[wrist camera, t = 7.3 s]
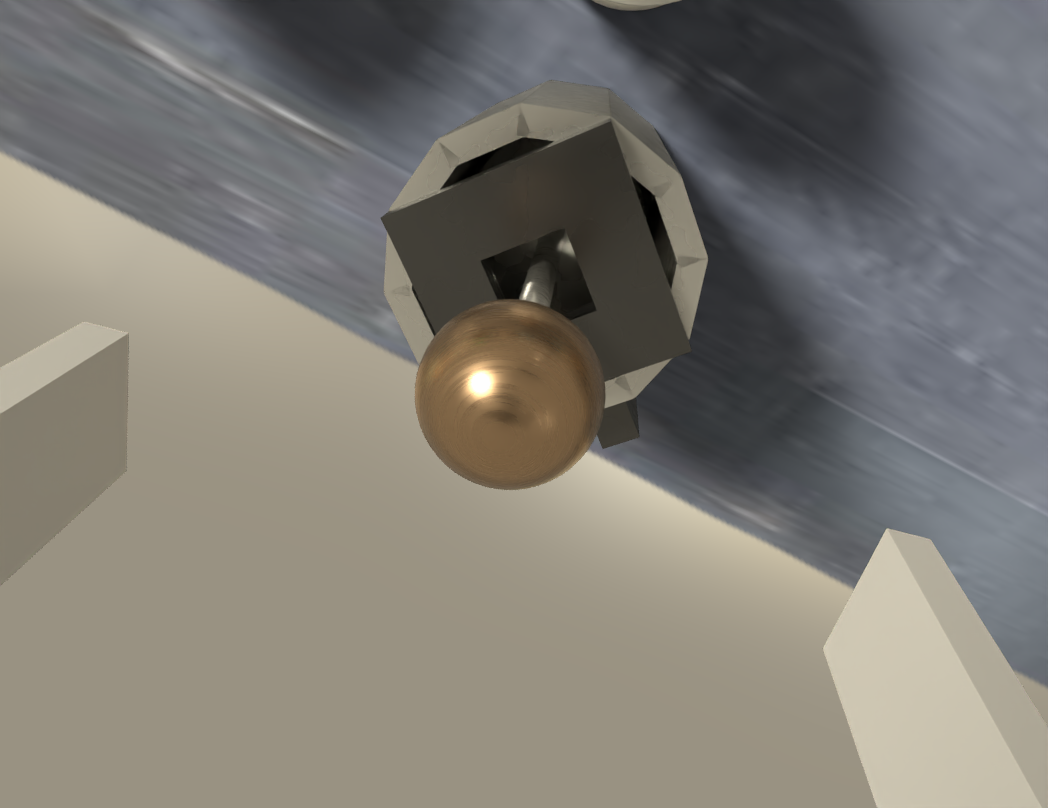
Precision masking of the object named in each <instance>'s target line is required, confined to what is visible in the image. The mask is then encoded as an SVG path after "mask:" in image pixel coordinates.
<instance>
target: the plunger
mask: <svg viewBox="0 0 1048 808" xmlns="http://www.w3.org/2000/svg"><path fill="white" fill-rule="evenodd" d="M552 142H554V141H549V140H542V139H536V138H529V137H522V138H520V139H518V140H515V141H513V142H511V143H508V144H507V145H506V146H504V147H503V148H501V149H500V150H499V151H498V152H497V153H496V154H494V155H493V156H492V157H491V158H490V159H489V160H488V162H487V163H486V164H485V165H484V166H483V168H482V169H481V170H480V172H483V171H485V170H488V169H490V168H492V167H495V166H497V165H499V164H502V163H504V162H507V161H509V160H511V159H514V158H516V157H518V156H521V155H523V154H525V153H528V152H530V151H533V150H535V149H537V148H540V147H542V146H544V145H547V144H549V143H552ZM480 172H479V173H480ZM631 177H632V176H631ZM632 180H633V183H634V185H635V188H636V191H637V194H638V197H639V200H640V203H641V205H642V208H643V211H644V214H645V217H646V210H645V204H644V200H643V196H642V193H641V189H640V187H639V185H638V182H637V180H636V179H635V178H633V177H632ZM488 260H489V262H490V264H491V267H492V269H493V271H494V274H495V276H496V278H497V281H498V283H499V285H500V287H501V290H502V292H503V294H504V297H505V299H500V300H494V301H488V302H485V303H482V304H478V305H476V306H474V307H471V308H469V309H467V310H465V311H463V312H462V313H460V314H458V315H457V316H455V317H454V318H452V319H451V320H450V321H449V322H448V323H446V324H445V325H444V326H443V327H442V328H441V330H440V331H439V332H438V333H437V334H436V335H435V336H434V338H433V339H432V341H431V342H430V344H429V345H428V347H427V349H426V351H425V353H424V355H423V357H422V359H421V362H420V365H419V369H418V372H417V377H416V383H415V405H416V413H417V416H418V420H419V423H420V427H421V429H422V432H423V434H424V436H425V438H426V440H427V442H428V443H429V445H430V447H431V448H432V450H433V451H434V452H435V453H436V455H437V456H438V457H439V458H440V459H441V460H442V461H443V462H444V464H445V465H447V466H448V467H449V468H451V470H453V471H454V472H455V473H457V474H458V475H460V476H462V477H463V478H465V479H467V480H469V481H471V482H473V483H476V484H479V485H482V486H485V487H489V488H494V489H504V490H518V489H526V488H531V487H535V486H539V485H541V484H544V483H546V482H549V481H551V480H553V479H555V478H557V477H559V476H561V475H562V474H564V473H565V472H566V471H568V470H569V469H570V468H571V467H572V466H574V465H575V464H576V463H577V462H578V461H579V460H580V459H581V458H582V456H583V455H584V454H585V453H586V452H587V450H588V449H589V447H590V446H591V444H592V442H593V441H594V439H595V437H596V435H597V433H598V430H599V428H600V426H601V422H602V418H603V414H604V408H605V399H606V393H605V382H604V376H603V370H602V367H601V364H600V361H599V358H598V356H597V354H596V352H595V350H594V348H593V346H592V345H591V343H590V342H589V340H588V339H587V337H586V336H585V335H584V334H583V332H582V331H581V330H580V329H579V328H578V327H577V326H576V325H575V324H574V323H573V322H572V321H570V320H569V319H568V318H567V317H565V316H564V315H562V314H561V313H564V312H566V311H569V310H572V309H575V308H577V307H580V306H583V305H585V304H588V303H591V302H593V299H592V297H591V294H590V292H589V289H588V287H587V284H586V281H585V279H584V276H583V274H582V271H581V269H580V266H579V264H578V261H577V258H576V256H575V253H574V251H573V248H572V246H571V243H570V241H569V238H568V235H567V233H566V230H565V228H562V229H560V230H557V231H555V232H552V233H549V234H547V235H544V236H542V237H539V238H537V239H534V240H532V241H529V242H527V243H524V244H521V245H519V246H516V247H514V248H511V249H509V250H506V251H504V252H501V253H499V254H496V255H494V256H491V257H488Z"/></svg>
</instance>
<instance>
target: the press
mask: <svg viewBox="0 0 1048 808" xmlns="http://www.w3.org/2000/svg"><path fill="white" fill-rule="evenodd" d="M522 137H529V138H536V139H542V140H549V141H554V142H552V143H549V144H547V145H544V146H542V147H540V148H537V149H535V150H533V151H530V152H528V153H525V154H523V155H521V156H518V157H516V158H514V159H511V160H509V161H507V162H504V163H502V164H499V165H497V166H495V167H492V168H490V169H488V170H485V171H483V172H480V170H481V169H482V168H483V166H484V165H485V164H486V163H487V162H488V160H489V159H490V158H491V157H492V156H493V155H494V154H496V153H497V152H498V151H499V150H500V149H501V148H503V147H504V146H506V145H507V144H508V143H511V142H513V141H515V140H518V139H520V138H522ZM479 172H480V173H479ZM631 176H632V177H633V178H635V179H636V180H637V182H638V185H639V187H640V189H641V193H642V196H643V200H644V204H645V210H646V217H645V214H644V211H643V208H642V205H641V203H640V200H639V197H638V194H637V191H636V188H635V185H634V183H633V180H632V177H631ZM381 220H382V222H383V224H384V226H385V228H386V230H387V246H386V263H385V281H384V292H385V293H384V294H385V296H386V298H387V300H388V302H389V304H390V306H391V308H392V311H393V313H394V315H395V317H396V319H397V321H398V323H399V325H400V327H401V329H402V331H403V333H404V335H405V337H406V339H407V341H408V343H409V345H410V347H411V349H412V351H413V353H414V355H415V357H416V359H417V361H418V363H419V364H420V362H421V359H422V357H423V355H424V353H425V351H426V349H427V347H428V345H429V344H430V342H431V341H432V339H433V338H434V336H435V335H436V334H437V333H438V332H439V331H440V330H441V328H442V327H443V326H444V325H445V324H446V323H448V322H449V321H450V320H451V319H452V318H454V317H455V316H457V315H458V314H460V313H462V312H463V311H465V310H467V309H469V308H471V307H474V306H476V305H478V304H482V303H485V302H488V301H494V300H500V299H505V297H504V294H503V292H502V290H501V287H500V285H499V283H498V281H497V278H496V276H495V274H494V271H493V269H492V267H491V264H490V262H489V260H488V257H491V256H494V255H496V254H499V253H501V252H504V251H506V250H509V249H511V248H514V247H516V246H519V245H521V244H524V243H527V242H529V241H532V240H534V239H537V238H539V237H542V236H544V235H547V234H549V233H552V232H555V231H557V230H560V229H562V228H565V230H566V233H567V235H568V238H569V241H570V243H571V246H572V248H573V251H574V253H575V256H576V258H577V261H578V264H579V266H580V269H581V271H582V274H583V276H584V279H585V281H586V284H587V287H588V289H589V292H590V294H591V297H592V299H593V302H591V303H588V304H585V305H583V306H580V307H577V308H575V309H572V310H569V311H566V312H564V313H561V314H562V315H564V316H565V317H567V318H568V319H569V320H570V321H572V322H573V323H574V324H575V325H576V326H577V327H578V328H579V329H580V330H581V331H582V332H583V334H584V335H585V336H586V337H587V339H588V340H589V342H590V343H591V345H592V346H593V348H594V350H595V352H596V354H597V356H598V358H599V361H600V364H601V367H602V370H603V376H604V382H605V393H606V399H605V408H604V414H603V418H602V422H601V426H600V428H599V430H598V433H597V436H598V438H599V441H600V443H601V446H602V448H603V449H604V448H607V447H610V446H613V445H617V444H620V443H623V442H626V441H629V440H632V439H635V438H638V437H640V436H639V425H638V414H637V402H636V396H637V395H638V394H639V393H640V392H641V391H642V390H643V389H644V388H645V387H646V386H647V385H648V384H649V382H650V381H651V380H652V379H653V378H654V377H655V376H656V375H657V374H658V373H659V372H660V371H661V370H662V369H663V368H664V366H665V365H666V364H667V363H668V362H669V361H670V360H671V359H672V358H674V357H677V356H680V355H683V354H686V353H689V352H692V350H691V346H690V343H689V339H690V335H691V331H692V327H693V322H694V318H695V314H696V310H697V305H698V301H699V297H700V292H701V288H702V284H703V279H704V275H705V271H706V267H707V262H708V256H707V253H706V250H705V247H704V244H703V241H702V238H701V235H700V232H699V229H698V226H697V223H696V219H695V216H694V213H693V210H692V207H691V204H690V201H689V198H688V195H687V192H686V189H685V186H684V183H683V180H682V177H681V175H680V173H679V171H678V169H677V168H676V166H675V164H674V162H673V161H672V159H671V157H670V155H669V153H668V152H667V150H666V148H665V146H664V145H663V143H662V141H661V139H660V137H659V136H658V134H657V132H656V130H655V129H654V127H653V126H652V125H651V124H650V123H649V122H648V121H646V120H645V119H644V118H643V117H642V116H640V115H639V114H638V113H637V112H636V111H635V110H633V109H632V108H631V107H630V106H629V105H628V104H626V103H625V102H624V101H623V100H622V99H621V98H619V97H618V96H617V95H616V94H615V93H613V92H612V91H611V90H610V89H608V88H603V87H596V86H589V85H582V84H575V83H569V82H562V81H555V80H549V81H546V82H544V83H542V84H540V85H537V86H535V87H533V88H531V89H528V90H526V91H524V92H522V93H519V94H517V95H515V96H513V97H510V98H508V99H506V100H504V101H501V102H499V103H497V104H495V105H493V106H492V107H490V108H488V109H487V110H485V111H483V112H482V113H480V114H479V115H477V116H475V117H474V118H472V119H470V120H469V121H467V122H465V123H464V124H462V125H460V126H459V127H457V128H455V129H454V130H452V131H450V132H449V133H447V134H445V135H444V136H442V137H440V138H439V139H437V140H436V142H435V143H434V145H433V146H432V148H431V149H430V150H429V152H428V153H427V155H426V156H425V158H424V159H423V161H422V162H421V164H420V165H419V167H418V168H417V169H416V171H415V172H414V174H413V175H412V177H411V178H410V180H409V181H408V183H407V184H406V186H405V187H404V188H403V190H402V191H401V193H400V194H399V196H398V197H397V199H396V200H395V202H394V203H393V205H392V206H391V208H390V209H389V211H388V213H386V214H385V215H384V216H383V217H381Z"/></svg>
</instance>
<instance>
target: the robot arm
mask: <svg viewBox="0 0 1048 808" xmlns="http://www.w3.org/2000/svg"><path fill="white" fill-rule="evenodd" d="M128 352H129V333H127V332H123V331H119V330H115V329H111V328H107V327H104V326H99V325H96V324H92V323H88V322H82V323H80V324H79V325H77V326H75V327H73V328H71V329H69V330H68V331H66V332H64V333H62V334H60V335H59V336H57V337H55V338H53V339H52V340H50V341H48V342H46V343H44V344H42V345H41V346H39V347H37V348H35V349H33V350H32V351H30V352H28V353H26V354H24V355H23V356H21V357H19V358H17V359H16V360H14V361H12V362H10V363H8V364H6V365H4V366H3V367H1V368H0V586H1V585H2V584H3V583H4V582H5V581H6V580H8V578H10V577H11V576H12V575H13V574H14V573H15V572H16V571H17V570H18V569H20V568H21V567H22V566H23V565H24V564H25V563H26V562H27V561H28V560H29V559H31V557H33V556H34V555H35V554H36V553H37V552H38V551H39V550H40V549H42V548H43V546H45V545H46V544H47V543H48V542H49V541H50V540H51V539H52V538H53V537H55V536H56V535H57V534H58V533H59V532H60V531H61V530H62V529H63V528H65V527H66V526H67V525H68V524H69V523H70V522H71V521H72V520H73V519H74V518H76V517H77V516H78V515H79V514H80V513H81V512H82V511H83V510H84V509H85V508H86V507H87V506H89V505H90V504H91V503H92V502H93V501H94V500H95V499H96V498H97V497H99V496H100V495H101V494H102V493H103V492H104V491H105V490H106V489H107V488H108V487H110V486H111V485H112V484H113V483H114V482H115V481H116V480H117V479H118V478H119V477H120V476H122V475H123V474H124V473H125V472H126V468H127V410H128V409H127V408H128ZM823 651H824V654H825V657H826V660H827V662H828V665H829V668H830V671H831V674H832V677H833V680H834V683H835V686H836V689H837V692H838V695H839V698H840V701H841V703H842V706H843V709H844V712H845V715H846V718H847V721H848V724H849V727H850V730H851V732H852V736H853V739H854V742H855V744H856V747H857V750H858V753H859V756H860V759H861V762H862V765H863V768H864V771H865V773H866V777H867V779H868V782H869V785H870V788H871V791H872V794H873V797H874V800H875V802H876V806H877V808H1048V726H1047V724H1046V722H1045V721H1044V719H1043V718H1042V716H1041V715H1040V713H1039V711H1038V710H1037V708H1036V706H1035V705H1034V703H1033V702H1032V700H1031V699H1030V697H1029V695H1028V694H1027V692H1026V691H1025V689H1024V688H1023V686H1022V684H1021V683H1020V681H1019V679H1018V678H1017V676H1016V675H1015V673H1014V671H1013V670H1012V668H1011V667H1010V665H1009V664H1008V662H1007V660H1006V659H1005V657H1004V656H1003V654H1002V652H1001V651H1000V649H999V648H998V646H997V644H996V643H995V641H994V640H993V638H992V636H991V635H990V633H989V632H988V630H987V628H986V627H985V625H984V624H983V622H982V621H981V619H980V617H979V616H978V614H977V613H976V611H975V609H974V608H973V606H972V605H971V603H970V601H969V600H968V598H967V597H966V595H965V593H964V592H963V590H962V589H961V587H960V586H959V584H958V582H957V581H956V579H955V578H954V576H953V574H952V573H951V571H950V570H949V568H948V566H947V565H946V563H945V562H944V560H943V558H942V557H941V555H940V554H939V552H938V550H937V549H936V547H935V546H934V544H933V543H932V541H931V539H927V538H923V537H919V536H915V535H912V534H908V533H904V532H900V531H896V530H892V529H888V528H887V529H886V531H885V533H884V534H883V536H882V538H881V540H880V542H879V544H878V546H877V548H876V549H875V551H874V553H873V555H872V557H871V559H870V561H869V563H868V565H867V566H866V568H865V570H864V572H863V574H862V576H861V578H860V580H859V581H858V583H857V585H856V587H855V589H854V591H853V593H852V595H851V597H850V598H849V600H848V602H847V604H846V606H845V608H844V610H843V612H842V614H841V616H840V617H839V619H838V621H837V623H836V625H835V627H834V628H833V631H832V632H831V634H830V636H829V638H828V640H827V642H826V644H825V645H824V648H823Z"/></svg>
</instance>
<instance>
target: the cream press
mask: <svg viewBox="0 0 1048 808" xmlns="http://www.w3.org/2000/svg"><path fill="white" fill-rule="evenodd" d="M592 1H594V2H596V3H598V4H600V5H603V6H606V7H608V8H613V9H617V10H626V11H639V10H647V9H652V8H656V7H659V6H662V5H665V4H668V3H673V2H677V1H681V0H592Z"/></svg>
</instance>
